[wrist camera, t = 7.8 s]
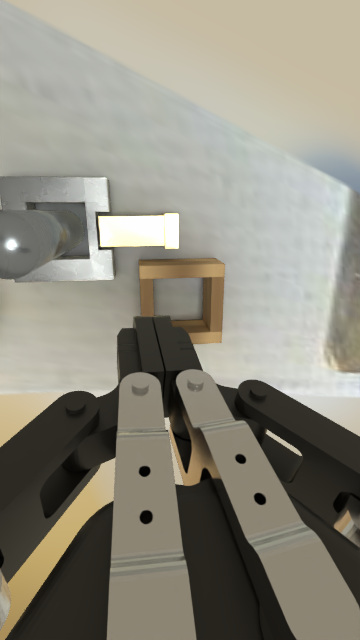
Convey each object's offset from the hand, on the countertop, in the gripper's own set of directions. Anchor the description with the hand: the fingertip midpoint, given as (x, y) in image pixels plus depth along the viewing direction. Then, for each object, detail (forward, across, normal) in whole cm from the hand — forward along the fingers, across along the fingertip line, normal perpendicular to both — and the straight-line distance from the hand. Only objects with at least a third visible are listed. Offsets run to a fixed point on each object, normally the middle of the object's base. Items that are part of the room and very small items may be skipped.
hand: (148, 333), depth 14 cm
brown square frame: (+18, -6, +8) cm, 21 cm away
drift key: (+20, -2, +2) cm, 20 cm away
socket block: (+21, +6, +2) cm, 22 cm away
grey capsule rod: (+21, +6, +2) cm, 22 cm away
